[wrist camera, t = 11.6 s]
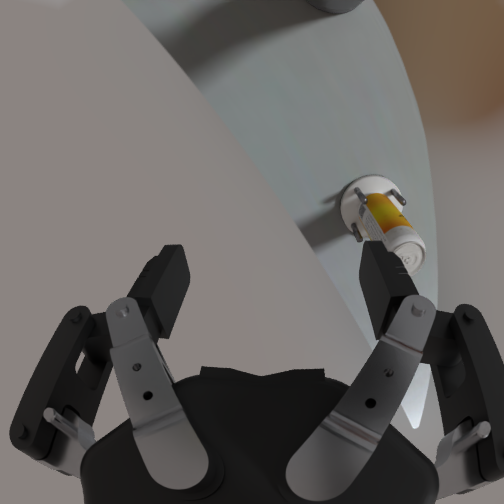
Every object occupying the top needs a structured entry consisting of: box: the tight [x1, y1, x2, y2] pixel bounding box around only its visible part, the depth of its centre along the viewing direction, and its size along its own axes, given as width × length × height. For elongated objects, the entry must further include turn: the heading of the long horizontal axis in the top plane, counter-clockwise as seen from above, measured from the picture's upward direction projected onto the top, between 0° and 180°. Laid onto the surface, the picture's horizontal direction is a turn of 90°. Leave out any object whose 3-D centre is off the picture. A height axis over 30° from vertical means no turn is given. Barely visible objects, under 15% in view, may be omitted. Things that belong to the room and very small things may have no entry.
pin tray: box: [340, 175, 406, 242], centre depth 41 cm, size 11×11×6 cm
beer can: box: [358, 193, 426, 276], centre depth 36 cm, size 6×6×15 cm
